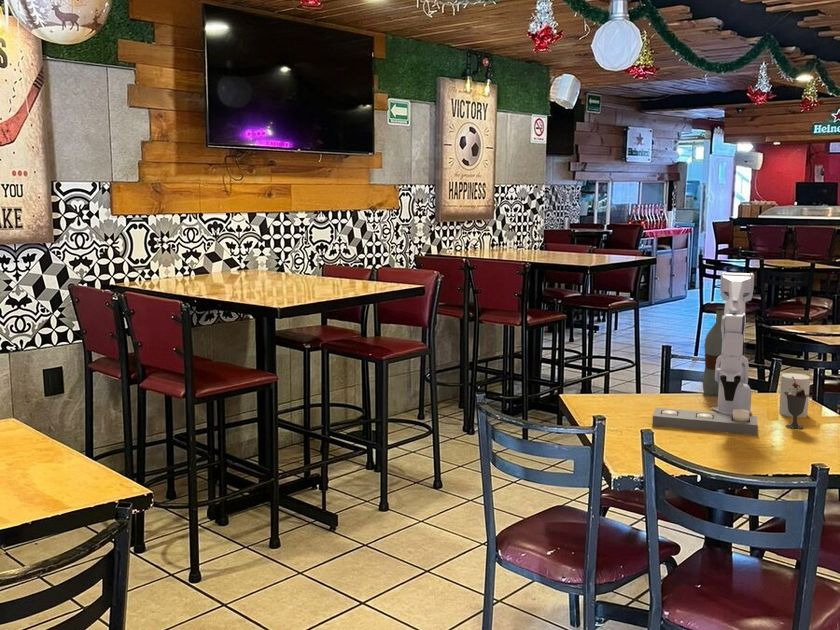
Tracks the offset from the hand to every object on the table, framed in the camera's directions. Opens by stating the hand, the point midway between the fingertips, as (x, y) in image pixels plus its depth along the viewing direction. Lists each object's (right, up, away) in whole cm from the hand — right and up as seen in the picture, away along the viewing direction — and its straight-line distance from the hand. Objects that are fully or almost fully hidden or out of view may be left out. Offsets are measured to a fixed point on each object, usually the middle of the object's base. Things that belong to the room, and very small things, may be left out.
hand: (729, 400), depth 244 cm
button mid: (-6, -8, +3) cm, 10 cm away
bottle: (+11, -2, +43) cm, 44 cm away
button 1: (-16, -7, +7) cm, 18 cm away
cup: (+26, -6, +17) cm, 32 cm away
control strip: (-6, -8, +3) cm, 11 cm away
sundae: (+20, -8, +2) cm, 22 cm away
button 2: (+3, -6, 0) cm, 7 cm away
